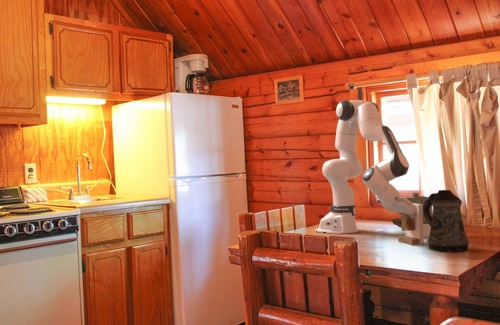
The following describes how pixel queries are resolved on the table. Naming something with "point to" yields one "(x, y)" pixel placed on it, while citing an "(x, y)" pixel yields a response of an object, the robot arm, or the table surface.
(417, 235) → the wall board
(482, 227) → the table surface
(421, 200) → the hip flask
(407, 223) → the cabinet block
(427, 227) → the wood carving
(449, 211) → the beer stein
